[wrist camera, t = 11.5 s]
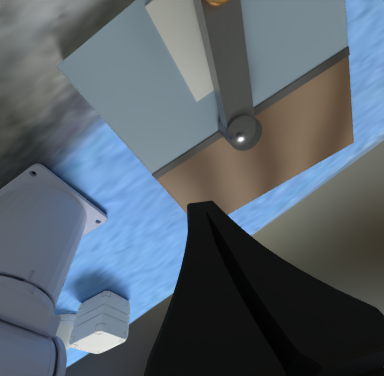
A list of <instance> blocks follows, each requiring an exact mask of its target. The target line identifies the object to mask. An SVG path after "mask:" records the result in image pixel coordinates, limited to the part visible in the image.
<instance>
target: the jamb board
mask: <svg viewBox="0 0 384 376" xmlns="http://www.w3.org/2000/svg"><path fill="white" fill-rule="evenodd" d="M348 56H349V47H347V48H345V49H344V50H342V51H341V52H339V53H338V54H336V55H334V56H333V57H331V58H330V59H328V60H327V61H325V62H324V63H322V64H321V65H319V66H318V67H316V68H315V69H313V70H311V71H310V72H308V73H307V74H305V75H304V76H302V77H301V78H299V79H298V80H296V81H295V82H293V83H292V84H290V85H289V86H287V87H285V88H284V89H282V90H281V91H279V92H278V93H276V94H275V95H273V96H272V97H270V98H269V99H267V100H266V101H264V102H262V103H261V104H259V105H258V106H256V107H255V108H254V114H255V118H256V119H258V120H259V121H260V123H261V125H262V135H261V138H260V140H259V141H258V143H257V144H256V145H255V146H254V147H252V148H251V149H249V150H245V151H239V150H236V149H235V148H233V147H232V146H231V145H230V144H229V143H228V142H227V140H226V139H225V138H224V137H223V136H222V135H221V134H220V133H219V131H218V132H217V133H215V134H213V135H212V136H210V137H209V138H207V139H206V140H204V141H203V142H201V143H200V144H198V145H197V146H195V147H194V148H192V149H191V150H189V151H187V152H186V153H184V154H183V155H181V156H180V157H178V158H177V159H175V160H174V161H172V162H171V163H169V164H168V165H166V166H165V167H163V168H161V169H160V170H158V171H157V172H155V173H154V174H152V176H153V177H154V178H155V179H156V180H157V181H158V182H159V183H160V184H161V185H162V186H163V187H164V189H165V190H166V191H167V192H168V193H169V194H170V195H171V196H172V198H173V199H174V200H175V201H176V202H177V203H178V204H179V206H180V207H181V208H182V209H183V210H184V211H185V212H186V213H187V205H188V204H189V203H196V202H204V201H211V200H212V201H214V202H215V203H216V204H217V205H218V206H219V207H220V208H221V209H222V210H223V211H224V212H225V213H226V214H227V215H228V214H230V213H231V212H233V211H235V210H237V209H238V208H240V207H242V206H244V205H245V204H247V203H249V202H251V201H252V200H254V199H256V198H258V197H259V196H261V195H263V194H265V193H266V192H268V191H270V190H272V189H273V188H275V187H277V186H279V185H280V184H282V183H284V182H286V181H287V180H289V179H291V178H293V177H294V176H296V175H298V174H300V173H301V172H303V171H305V170H307V169H308V168H310V167H312V166H314V165H315V164H317V163H319V162H321V161H322V160H324V159H326V158H328V157H329V156H331V155H333V154H334V153H336V152H338V151H340V150H341V149H343V148H345V147H347V146H348V145H350V144H352V143H354V139H353V123H352V106H351V90H350V73H349V57H348Z"/></svg>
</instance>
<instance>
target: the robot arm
mask: <svg viewBox="0 0 384 376" xmlns="http://www.w3.org/2000/svg"><path fill="white" fill-rule="evenodd" d="M32 171H34V172H35V173H36V174H33V173H32ZM107 218H108V217H107V215H106V214H105V213H103V212H102V211H101V210H100V209H98V208H97V207H96V206H95V205H93V204H92V203H91V202H89V201H88V200H87V199H86V198H84V197H83V196H82V195H80V194H79V193H78V192H77V191H75V190H74V189H73V188H71V187H70V186H69V185H68V184H66V183H65V182H64V181H63V180H61V179H60V178H59V177H57V176H56V175H55V174H54V173H52V172H51V171H50V170H48V169H47V168H46V167H45V166H43V165H42V164H39V163H36V164H33V165H32V166H31V167H29V168H28V169H27V170H25V171H24V172H23V173H21V174H20V175H19V176H17V177H16V178H15V179H13V180H12V181H11V182H9V183H8V184H7V185H5V186H4V187H3V188H1V189H0V376H65V371H66V362H67V355H66V348H65V345H64V343H63V341H62V340H61V339H60V338H59V337H58V336H55V335H56V332H57V329H58V326H59V324H60V321H61V317H60V316H59V315H57V314H56V313H55V312H54V308H55V306H56V303H57V300H58V298H59V295H60V293H61V290H62V287H63V285H64V282H65V279H66V277H67V274H68V272H69V269H70V266H71V264H72V261H73V258H74V256H75V253H76V251H77V248H78V245H79V243H80V240H81V237H82V236H84V235H86V234H87V233H89V232H90V231H92V230H93V229H95V228H97V227H98V226H100V225H101V224H103V223H104V222H106V221H107ZM97 220H100V221H97ZM187 221H188V236H187V242H186V248H185V253H184V258H183V262H182V266H181V270H180V273H179V277H178V280H177V284H176V287H175V290H174V293H173V297H172V299H171V302H170V305H169V307H168V311H167V313H166V316H165V319H164V321H163V324H162V326H161V329H160V331H159V334H158V336H157V338H156V341H155V343H154V346H153V348H152V351H151V353H150V356H149V358H148V361H147V366H146V370H145V373H144V376H384V315H383V314H382V313H381V312H380V311H379V310H378V309H377V308H375V307H374V306H372V305H369V304H367V303H365V302H363V301H361V300H359V299H356V298H354V297H352V296H350V295H348V294H345V293H344V292H341V291H339V290H337V289H335V288H333V287H331V286H329V285H327V284H326V283H323V282H322V281H320V280H318V279H316V278H314V277H312V276H310V275H309V274H307V273H305V272H303V271H302V270H300V269H298V268H296V267H295V266H293V265H292V264H290V263H288V262H287V261H285V260H283V259H282V258H280V257H278V256H277V255H276V254H274V253H273V252H271V251H270V250H269V249H267V248H266V247H264V246H263V245H262V244H260V243H259V242H258V241H256V240H255V239H254V238H253V237H251V236H250V235H249V234H248V233H246V232H245V231H244V230H243V229H242V228H241V227H240V226H238V225H237V224H236V223H235V222H234V221H233V220H232V219H231V218H230V217H229V216H228V215H227V214H226V213H225V212H224V211H223V210H222V209H221V208H220V207H219V206H218V205H217V204H216V203H215V202H214V201H212V200H211V201H204V202H196V203H189V204H188V205H187Z"/></svg>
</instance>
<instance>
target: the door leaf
mask: <svg viewBox="0 0 384 376" xmlns="http://www.w3.org/2000/svg"><path fill="white" fill-rule="evenodd" d="M241 8H242V17H243V25H244V33H245V41H246V49H247V57H248V65H249V73H250V82H251V90H252V98H253V106H254V108H255V107H256V106H258V105H259V104H261V103H262V102H264V101H266V100H267V99H269V98H270V97H272V96H273V95H275V94H276V93H278V92H279V91H281V90H282V89H284V88H285V87H287V86H289V85H290V84H292V83H293V82H295V81H296V80H298V79H299V78H301V77H302V76H304V75H305V74H307V73H308V72H310V71H311V70H313V69H315V68H316V67H318V66H319V65H321V64H322V63H324V62H325V61H327V60H328V59H330V58H331V57H333V56H334V55H336V54H338V53H339V52H341V51H342V50H344V49H345V48H347V47H348V41H347V24H346V8H345V0H241ZM56 67H57V68H58V69H59V70H60V71H61V72H62V73H63V75H64V76H65V77H66V78H67V79H68V80H69V81H70V82H71V84H72V85H73V86H74V87H75V88H76V89H77V90H78V92H79V93H80V94H81V95H82V96H83V97H84V98H85V99H86V101H87V102H88V103H89V104H90V105H91V106H92V107H93V108H94V110H95V111H96V112H97V113H98V114H99V115H100V116H101V117H102V119H103V120H104V121H105V122H106V123H107V124H108V125H109V126H110V128H111V129H112V130H113V131H114V132H115V133H116V134H117V136H118V137H119V138H120V139H121V140H122V141H123V142H124V143H125V145H126V146H127V147H128V148H129V149H130V150H131V151H132V152H133V154H134V155H135V156H136V157H137V158H138V159H139V160H140V161H141V163H142V164H143V165H144V166H145V167H146V168H147V169H148V171H149V172H150V173H151V174H154V173H155V172H157V171H158V170H160V169H161V168H163V167H165V166H166V165H168V164H169V163H171V162H172V161H174V160H175V159H177V158H178V157H180V156H181V155H183V154H184V153H186V152H187V151H189V150H191V149H192V148H194V147H195V146H197V145H198V144H200V143H201V142H203V141H204V140H206V139H207V138H209V137H210V136H212V135H213V134H215V133H217V132H218V131H219V130H218V121H219V119H220V115H219V110H218V106H217V102H216V97H215V93H214V88H213V84H212V80H211V75H210V71H209V67H208V62H207V58H206V53H205V49H204V45H203V40H202V36H201V32H200V27H199V23H198V18H197V14H196V10H195V5H194V1H193V0H135V1H134V2H133V3H132V4H130V5H129V6H128V7H127V8H126V9H124V10H123V11H122V12H121V13H120V14H119V15H117V16H116V17H115V18H114V19H113V20H111V21H110V22H109V23H108V24H107V25H105V26H104V27H103V28H102V29H101V30H99V31H98V32H97V33H96V34H95V35H93V36H92V37H91V38H90V39H89V40H87V41H86V42H85V43H84V44H83V45H81V46H80V47H79V48H78V49H77V50H75V51H74V52H73V53H72V54H71V55H69V56H68V57H67V58H66V59H65V60H63V61H62V62H61V63H60V64H59V65H57V66H56Z"/></svg>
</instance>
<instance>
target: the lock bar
mask: <svg viewBox="0 0 384 376" xmlns="http://www.w3.org/2000/svg"><path fill="white" fill-rule="evenodd" d="M193 1H194V5H195V10H196V14H197V18H198V23H199V27H200V32H201V36H202V40H203V45H204V49H205V53H206V58H207V62H208V67H209V71H210V75H211V80H212V84H213V88H214V93H215V97H216V102H217V106H218V110H219V115H220V119H219V121H218V130H219V133H220V134H221V135H222V136H223V137H224V138H225V139H226V140H227V142H228V143H229V144H230V145H231V146H232V147H233V148H235V149H236V150H239V151H245V150H249V149H251V148H252V147H254V146H255V145H256V144H257V143H258V141H259V140H260V138H261V135H262V125H261V123H260V121H259V120H258V119H256V118H255V114H254V106H253V98H252V90H251V82H250V73H249V65H248V57H247V49H246V41H245V33H244V25H243V17H242V8H241V0H193Z"/></svg>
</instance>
